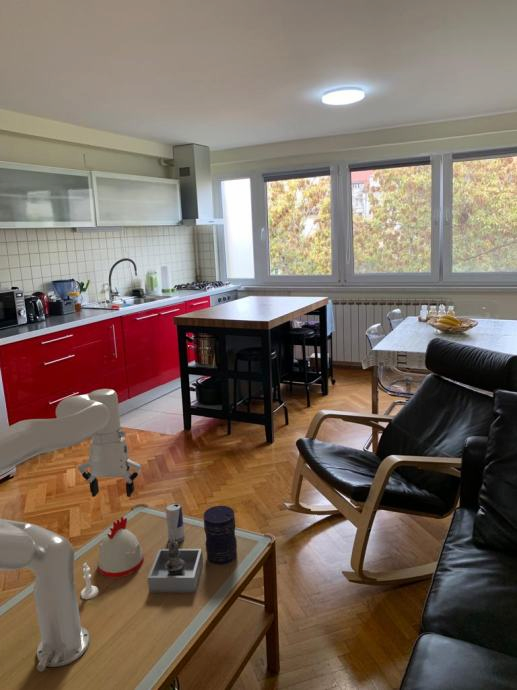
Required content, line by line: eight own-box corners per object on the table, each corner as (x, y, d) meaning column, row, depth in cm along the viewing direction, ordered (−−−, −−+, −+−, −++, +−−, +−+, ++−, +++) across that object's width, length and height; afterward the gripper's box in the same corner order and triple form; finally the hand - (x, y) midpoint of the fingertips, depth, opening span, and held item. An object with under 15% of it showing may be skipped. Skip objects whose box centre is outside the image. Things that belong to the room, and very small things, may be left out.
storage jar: (201, 562, 163) (197, 520, 160) (213, 544, 173) (210, 503, 169) (231, 567, 160) (228, 524, 157) (241, 548, 169) (239, 507, 166)
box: (195, 592, 150) (194, 577, 149) (149, 592, 151) (147, 577, 150) (203, 562, 163) (201, 548, 162) (160, 563, 164) (159, 549, 163)
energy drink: (187, 536, 178) (184, 504, 175) (177, 544, 173) (174, 512, 171) (175, 532, 181) (172, 501, 178) (165, 540, 176) (162, 508, 173)
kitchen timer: (152, 556, 168) (148, 514, 165) (123, 582, 156) (117, 538, 153) (120, 545, 175) (115, 505, 171) (89, 570, 163) (83, 527, 159)
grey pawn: (187, 568, 159) (184, 533, 157) (183, 581, 154) (179, 545, 151) (169, 568, 160) (165, 533, 157) (163, 580, 154) (160, 545, 152)
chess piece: (90, 585, 155) (86, 556, 153) (101, 590, 153) (97, 560, 151) (77, 595, 151) (72, 565, 149) (88, 601, 149) (84, 570, 147)
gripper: (142, 430, 141) (147, 488, 145) (80, 430, 143) (87, 487, 146) (134, 440, 134) (139, 501, 138) (69, 441, 136) (76, 501, 139)
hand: (112, 494), depth 142 cm, fingers open, 9 cm apart
